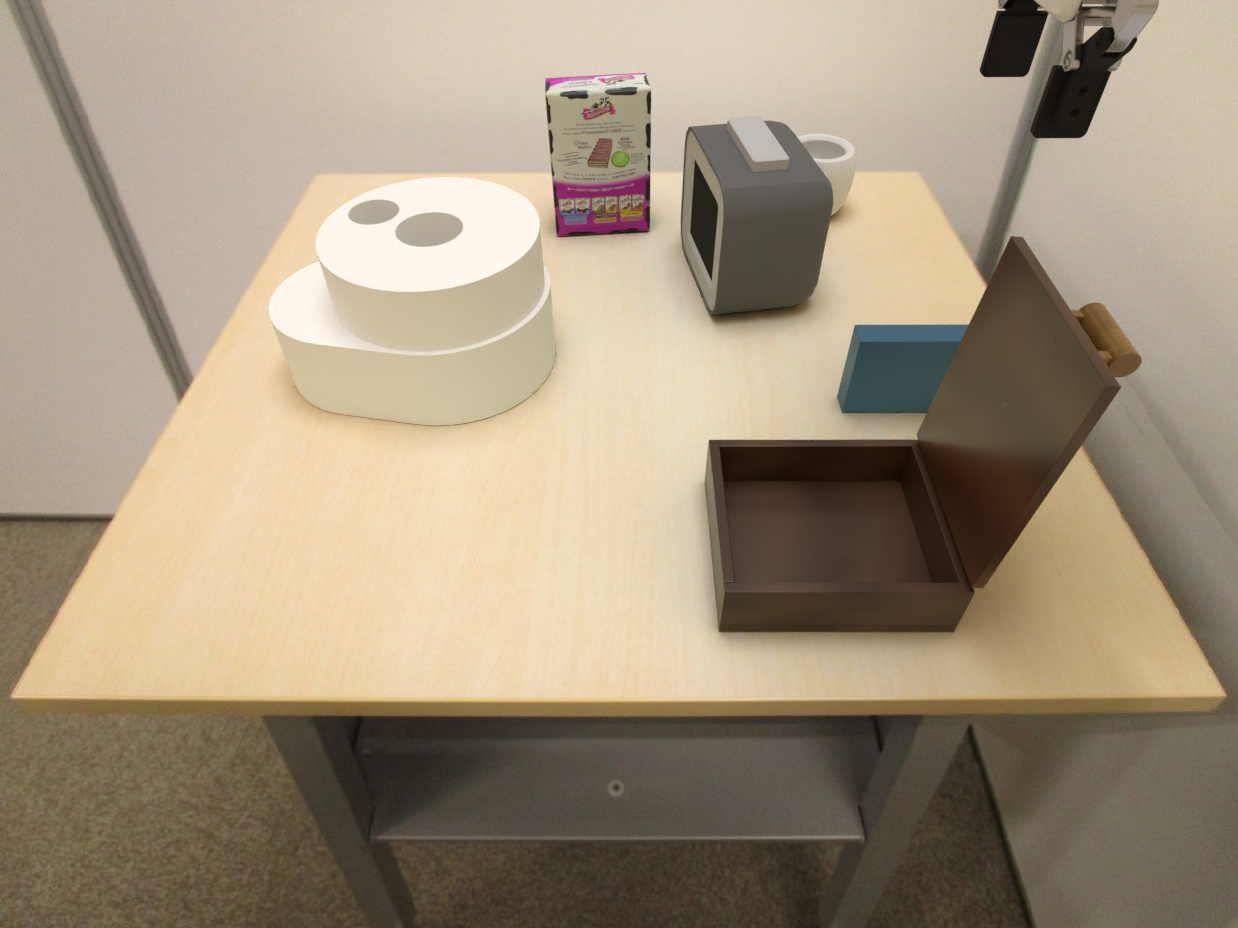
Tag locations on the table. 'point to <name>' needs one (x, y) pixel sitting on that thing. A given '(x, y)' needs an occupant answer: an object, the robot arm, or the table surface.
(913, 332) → the blue hardcover book
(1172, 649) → the table surface
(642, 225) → the candy bar box
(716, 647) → the table surface
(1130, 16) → the robot arm
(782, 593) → the box
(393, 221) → the container
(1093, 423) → the lid
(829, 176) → the mug
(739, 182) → the alarm clock
